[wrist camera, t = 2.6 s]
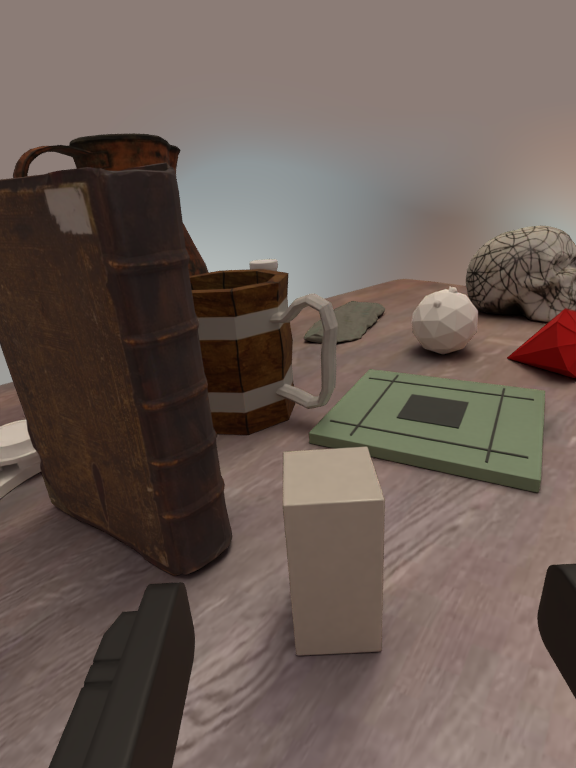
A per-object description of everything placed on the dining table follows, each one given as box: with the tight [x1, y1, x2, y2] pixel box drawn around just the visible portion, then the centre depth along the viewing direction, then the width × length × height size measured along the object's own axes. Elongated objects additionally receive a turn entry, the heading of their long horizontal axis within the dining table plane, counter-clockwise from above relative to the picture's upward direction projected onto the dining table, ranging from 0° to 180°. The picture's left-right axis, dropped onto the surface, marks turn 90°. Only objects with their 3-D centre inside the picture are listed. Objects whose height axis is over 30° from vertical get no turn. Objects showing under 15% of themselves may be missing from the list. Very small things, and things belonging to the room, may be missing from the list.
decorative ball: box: [412, 286, 478, 354], centre depth 64 cm, size 9×10×12 cm
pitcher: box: [13, 134, 208, 276], centre depth 55 cm, size 17×21×30 cm
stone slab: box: [304, 301, 385, 343], centre depth 81 cm, size 22×3×10 cm
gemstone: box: [507, 308, 576, 379], centre depth 57 cm, size 9×9×10 cm
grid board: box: [309, 369, 545, 493], centre depth 46 cm, size 20×18×1 cm
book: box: [0, 163, 232, 576], centre depth 30 cm, size 17×7×25 cm, turn 49°
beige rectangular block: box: [283, 447, 385, 656], centre depth 24 cm, size 5×5×10 cm
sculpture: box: [466, 226, 576, 322], centre depth 79 cm, size 15×20×15 cm
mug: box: [190, 269, 338, 435], centre depth 48 cm, size 20×14×15 cm
